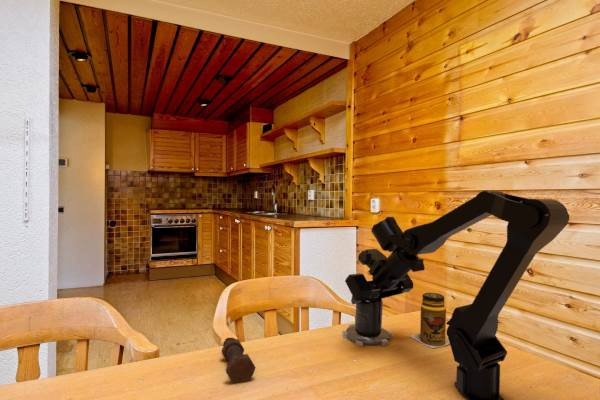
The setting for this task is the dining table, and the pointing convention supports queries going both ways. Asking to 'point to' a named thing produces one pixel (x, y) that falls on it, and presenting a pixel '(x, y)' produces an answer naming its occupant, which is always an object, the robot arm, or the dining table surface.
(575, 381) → the dining table surface
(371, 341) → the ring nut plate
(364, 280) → the robot arm
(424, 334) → the condiment
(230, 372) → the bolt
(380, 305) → the supplement bottle
